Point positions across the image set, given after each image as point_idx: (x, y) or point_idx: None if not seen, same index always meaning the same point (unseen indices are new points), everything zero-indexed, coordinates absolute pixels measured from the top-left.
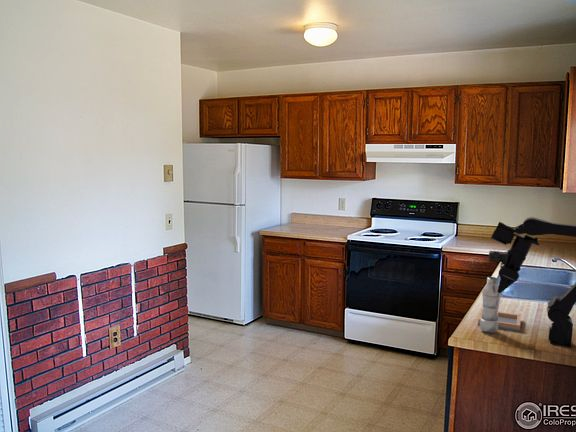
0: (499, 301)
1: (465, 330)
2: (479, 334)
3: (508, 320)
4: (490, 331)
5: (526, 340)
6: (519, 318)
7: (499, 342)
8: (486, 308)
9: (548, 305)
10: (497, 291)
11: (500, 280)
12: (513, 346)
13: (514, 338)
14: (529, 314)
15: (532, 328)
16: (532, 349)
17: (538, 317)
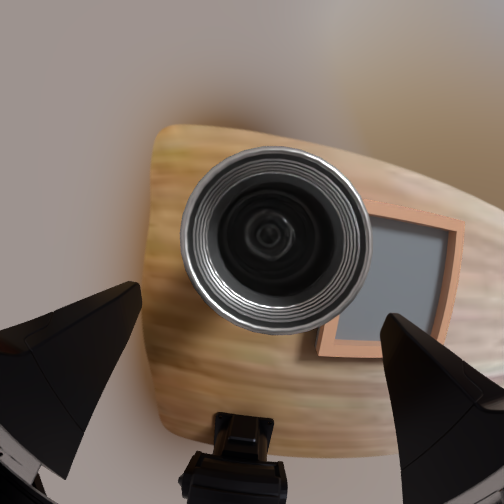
0: (269, 294)
1: None
2: None
3: (408, 314)
4: (234, 239)
5: (224, 356)
6: None
7: (163, 265)
8: (233, 211)
9: (219, 493)
10: (126, 282)
11: (11, 327)
12: (146, 306)
13: (228, 321)
14: (477, 365)
15: (362, 382)
16: (148, 355)
17: None
